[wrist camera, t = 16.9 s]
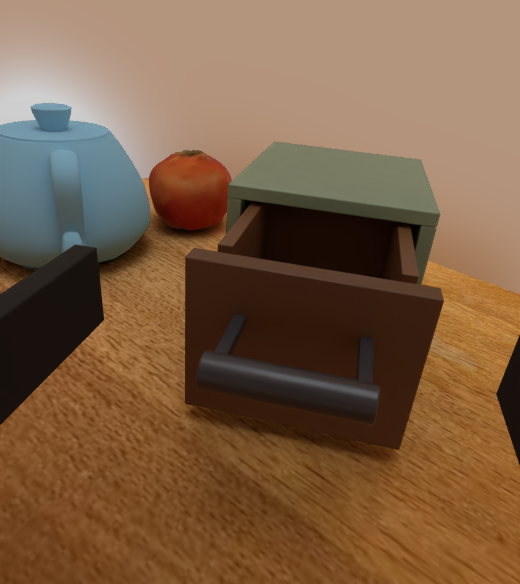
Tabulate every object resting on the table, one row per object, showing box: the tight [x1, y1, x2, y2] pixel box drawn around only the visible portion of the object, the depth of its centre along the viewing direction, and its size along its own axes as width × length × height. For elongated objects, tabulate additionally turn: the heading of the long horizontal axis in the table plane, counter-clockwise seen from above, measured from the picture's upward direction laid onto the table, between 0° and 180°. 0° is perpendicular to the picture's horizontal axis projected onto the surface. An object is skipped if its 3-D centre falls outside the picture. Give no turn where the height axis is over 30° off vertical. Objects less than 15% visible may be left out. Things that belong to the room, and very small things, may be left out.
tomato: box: [149, 150, 231, 231], centre depth 51 cm, size 9×9×8 cm
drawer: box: [185, 201, 444, 450], centre depth 27 cm, size 19×12×9 cm, turn 167°
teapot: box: [0, 103, 151, 268], centre depth 41 cm, size 20×20×13 cm
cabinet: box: [226, 142, 440, 285], centre depth 38 cm, size 15×13×11 cm
